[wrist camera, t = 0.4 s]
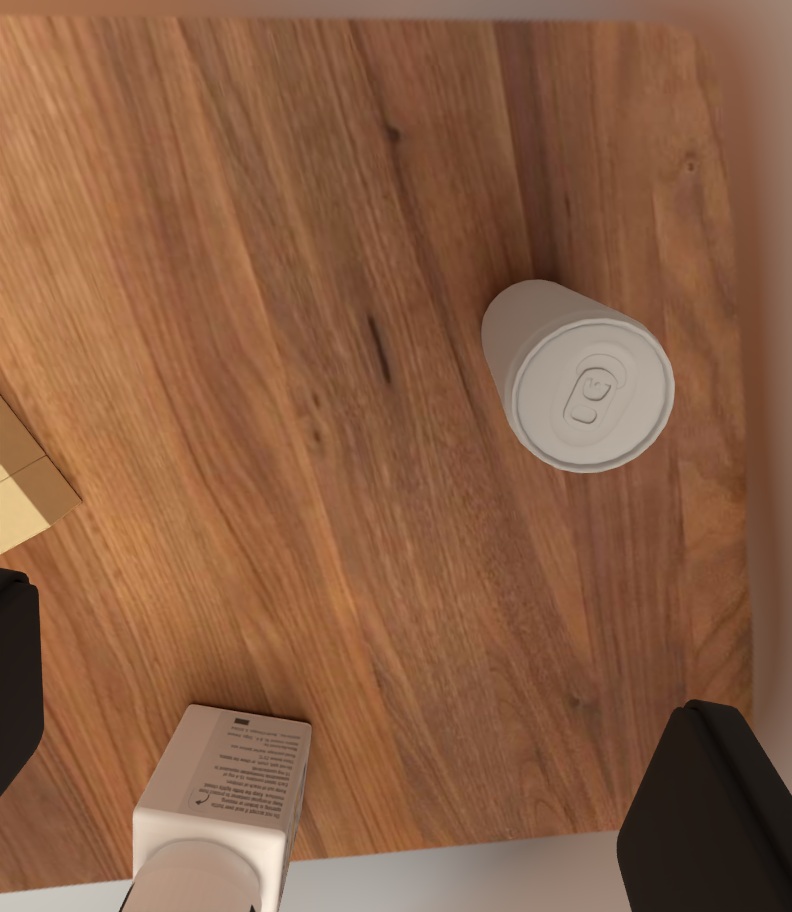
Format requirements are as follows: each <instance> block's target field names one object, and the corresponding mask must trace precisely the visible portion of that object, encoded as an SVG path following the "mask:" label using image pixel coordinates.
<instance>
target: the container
mask: <svg viewBox="0 0 792 912" xmlns="http://www.w3.org/2000/svg"><path fill="white" fill-rule="evenodd" d="M311 734H312V728H311V725H310V724H308V723H304V722H298V721H292V720H286V719H280V718H274V717H268V716H262V715H256V714H250V713H244V712H238V711H232V710H226V709H220V708H213V707H207V706H201V705H195V704H191V705H190V706H188V707H187V709H186V711H185V713H184V715H183V717H182V719H181V721H180V723H179V724H178V726H177V728H176V730H175V732H174V734H173V736H172V738H171V740H170V742H169V744H168V746H167V748H166V750H165V751H164V753H163V755H162V757H161V759H160V761H159V763H158V765H157V767H156V769H155V771H154V773H153V775H152V777H151V778H150V780H149V782H148V784H147V786H146V788H145V790H144V792H143V794H142V796H141V798H140V800H139V802H138V803H137V805H136V807H135V809H134V812H133V882H132V885H131V887H130V889H129V891H128V893H127V895H126V898H125V900H124V902H123V904H122V906H121V908H120V910H119V912H278V910H279V906H280V902H281V898H282V893H283V889H284V884H285V880H286V876H287V872H288V867H289V863H290V859H291V854H292V850H293V846H294V841H295V837H296V833H297V828H298V824H299V820H300V815H301V810H302V802H303V794H304V787H305V779H306V772H307V764H308V756H309V749H310V741H311Z"/></svg>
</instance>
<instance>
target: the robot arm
mask: <svg viewBox="0 0 792 912" xmlns="http://www.w3.org/2000/svg"><path fill="white" fill-rule="evenodd" d="M43 730H44V710H43V686H42V663H41V639H40V616H39V594H38V589H37V588H36V586H34V585H32V584H30V583H29V578H28V577H27V575H26V574H25V573H23V572H19V571H14V570H9V569H3V568H0V797H1V795H2V794H3V793H4V791H5V790H6V789H7V787H8V786H9V785H10V783H11V782H12V781H13V780H14V778H15V777H16V776H17V774H18V773H19V772H20V770H21V769H22V768H23V766H24V765H25V764H26V762H27V761H28V760H29V759H30V757H31V756H32V755H33V753H34V752H35V750H36V749H37V747H38V745H39V743H40V740H41V737H42V734H43ZM617 858H618V863H619V867H620V871H621V874H622V878H623V882H624V885H625V888H626V892H627V896H628V899H629V903H630V907H631V910H632V912H792V795H791V794H790V792H789V790H788V789H787V787H786V786H785V784H784V782H783V781H782V779H781V777H780V776H779V774H778V773H777V771H776V769H775V768H774V766H773V765H772V763H771V761H770V760H769V758H768V757H767V755H766V753H765V751H764V750H763V748H762V747H761V745H760V743H759V742H758V740H757V738H756V737H755V735H754V734H753V732H752V730H751V729H750V727H749V725H748V724H747V722H746V721H745V719H744V717H743V716H742V714H741V713H740V712H739V711H738V709H736V708H734V707H732V706H728V705H723V704H717V703H712V702H707V701H702V700H696V699H694V700H690V701H688V702H687V703H686V705H685V706H684V708H682V707H677V708H676V709H675V710H674V711H673V713H672V714H671V716H670V719H669V721H668V723H667V725H666V728H665V730H664V732H663V735H662V737H661V739H660V741H659V744H658V746H657V748H656V750H655V753H654V755H653V757H652V759H651V762H650V764H649V766H648V768H647V771H646V773H645V775H644V777H643V780H642V782H641V784H640V787H639V789H638V791H637V793H636V796H635V798H634V800H633V802H632V805H631V807H630V809H629V811H628V814H627V816H626V818H625V820H624V823H623V825H622V827H621V829H620V832H619V835H618V839H617Z"/></svg>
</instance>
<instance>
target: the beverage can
mask: <svg viewBox="0 0 792 912" xmlns="http://www.w3.org/2000/svg"><path fill="white" fill-rule="evenodd" d="M481 339H482V347H483V351H484V355H485V358H486V361H487V364H488V366H489V369H490V371H491V374H492V377H493V379H494V382H495V385H496V388H497V391H498V394H499V397H500V400H501V403H502V406H503V409H504V412H505V415H506V417H507V420H508V423H509V425H510V427H511V428H512V430H513V431H514V433H515V435H516V436H517V438H518V439H519V441H520V442H521V443H522V444H523V445H524V446H525V447H526V448H527V449H528V450H530V451H531V452H532V453H533V454H534V455H535V456H537V457H538V458H539V459H541V460H542V461H544V462H546V463H548V464H550V465H552V466H554V467H556V468H558V469H561V470H566V471H571V472H576V473H591V472H602V471H605V470H609V469H612V468H616V467H619V466H621V465H623V464H625V463H627V462H628V461H630V460H632V459H634V458H636V457H638V456H639V455H640V454H641V453H642V452H643V451H644V450H646V449H647V448H648V447H649V446H650V445H651V444H652V443H653V442H654V441H655V440H656V438H657V437H658V435H659V434H660V432H661V431H662V430H663V428H664V427H665V425H666V423H667V420H668V418H669V415H670V412H671V410H672V407H673V402H674V391H675V381H674V376H673V371H672V366H671V363H670V361H669V359H668V358H667V356H666V354H665V352H664V350H663V348H662V346H661V345H660V344H659V342H658V340H657V338H656V337H655V336H654V335H653V334H652V333H651V332H650V331H649V330H648V329H647V328H646V327H645V326H643V325H642V324H641V323H640V322H638V321H636V320H634V319H632V318H630V317H628V316H626V315H625V314H623V313H621V312H619V311H616V310H614V309H612V308H610V307H608V306H605V305H603V304H601V303H599V302H597V301H594V300H592V299H590V298H588V297H586V296H583V295H581V294H579V293H577V292H575V291H572V290H570V289H568V288H566V287H564V286H561V285H559V284H557V283H555V282H551V281H546V280H541V279H538V280H525V281H522V282H519V283H516V284H513V285H511V286H510V287H508V288H507V289H505V290H504V291H502V292H501V293H499V294H498V296H497V297H496V298H495V299H494V300H493V301H492V302H491V303H490V305H489V307H488V309H487V311H486V313H485V314H484V316H483V322H482V328H481Z"/></svg>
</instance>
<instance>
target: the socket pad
mask: <svg viewBox="0 0 792 912" xmlns="http://www.w3.org/2000/svg"><path fill="white" fill-rule="evenodd" d="M45 455H46V454H45V453H44V451H43V450H42V449H41V448H40V446H39V445H38V444H37V442H36V441H35V440H34V439H33V437H32V436H31V435H30V433H29V432H28V431H27V430H26V428H25V427H24V426H23V424H22V423H21V422H20V420H19V419H18V418H17V417H16V415H15V414H14V413H13V411H12V410H11V409H10V408H9V406H8V405H7V404H6V402H5V401H4V400H3V399H2V397H1V396H0V554H2V553H4V552H6V551H8V550H9V549H11V548H13V547H15V546H17V545H18V544H20V543H22V542H24V541H26V540H28V539H29V538H31V537H33V536H35V535H37V534H38V533H40V532H42V531H44V530H46V529H47V528H49V527H51V526H52V525H53V524H55V523H56V522H57V521H59V520H60V519H61V518H62V517H64V516H65V515H66V514H68V513H69V512H70V511H72V510H73V509H74V508H75V507H77V506H78V505H79V504H81V503H82V501H81V499H80V498H79V497H78V496H77V494H76V493H75V492H74V490H73V489H72V488H71V487H70V485H69V484H68V483H67V481H66V480H65V479H64V478H63V476H62V475H61V474H60V472H59V471H58V470H57V468H56V467H55V466H54V465H53V463H52V462H51V461H50V459H49V458H48V457H47V456H45Z"/></svg>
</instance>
